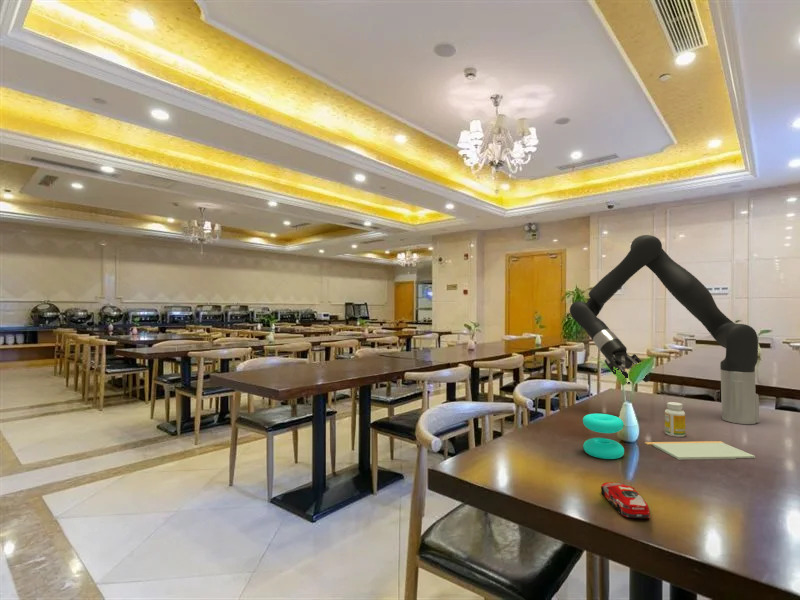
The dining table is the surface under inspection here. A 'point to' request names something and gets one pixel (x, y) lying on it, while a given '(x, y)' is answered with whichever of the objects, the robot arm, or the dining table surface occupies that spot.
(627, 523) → the dining table surface
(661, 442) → the strip
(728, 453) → the mat
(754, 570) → the dining table surface
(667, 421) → the supplement bottle
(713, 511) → the dining table surface
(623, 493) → the race car
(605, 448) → the donuts
